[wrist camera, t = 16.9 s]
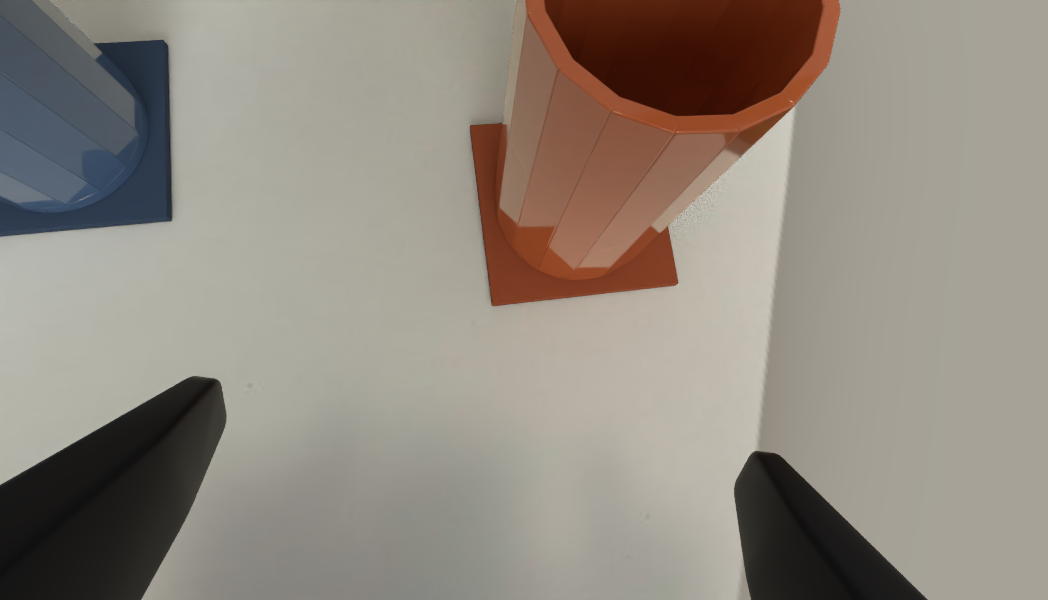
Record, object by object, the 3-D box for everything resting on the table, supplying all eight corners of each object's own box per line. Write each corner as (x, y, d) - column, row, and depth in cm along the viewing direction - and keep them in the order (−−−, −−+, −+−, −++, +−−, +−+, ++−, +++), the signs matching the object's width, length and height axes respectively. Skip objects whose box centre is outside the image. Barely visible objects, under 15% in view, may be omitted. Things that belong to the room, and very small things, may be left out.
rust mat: (675, 285, 25) (678, 283, 25) (492, 306, 24) (492, 304, 24) (644, 116, 26) (646, 111, 26) (469, 129, 25) (469, 125, 25)
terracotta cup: (585, 313, 24) (718, 199, 11) (462, 209, 24) (454, -16, 12) (681, 198, 25) (896, -19, 13) (563, 101, 26) (655, -205, 13)
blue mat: (171, 221, 23) (167, 217, 23) (-45, 240, 22) (-54, 237, 22) (167, 45, 25) (163, 39, 24) (-36, 56, 24) (-44, 50, 24)
